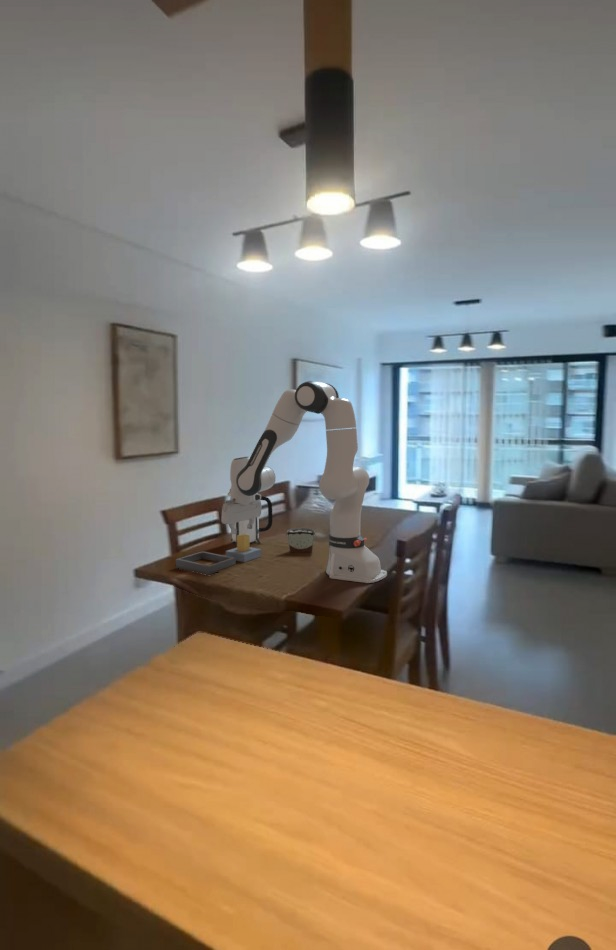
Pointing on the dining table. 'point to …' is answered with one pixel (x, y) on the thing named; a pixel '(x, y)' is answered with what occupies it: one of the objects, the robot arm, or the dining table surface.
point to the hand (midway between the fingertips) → (242, 531)
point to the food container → (300, 539)
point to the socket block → (244, 554)
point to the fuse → (243, 543)
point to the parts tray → (189, 565)
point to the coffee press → (255, 531)
